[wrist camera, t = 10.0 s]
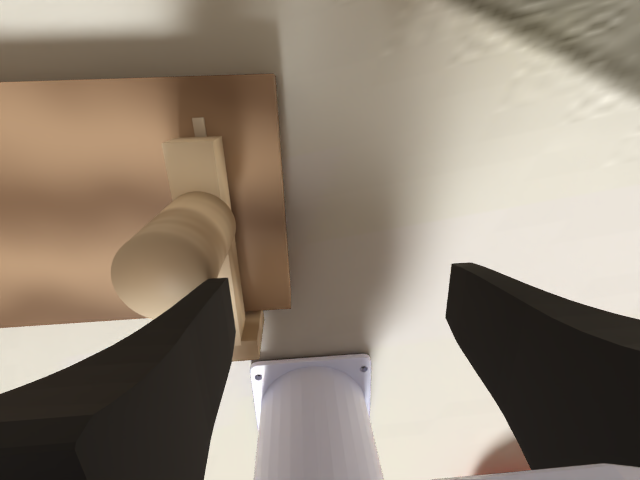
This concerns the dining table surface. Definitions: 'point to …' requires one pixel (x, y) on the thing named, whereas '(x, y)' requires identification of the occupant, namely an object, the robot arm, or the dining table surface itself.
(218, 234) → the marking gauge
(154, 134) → the walnut board
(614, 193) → the dining table surface
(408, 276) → the dining table surface
